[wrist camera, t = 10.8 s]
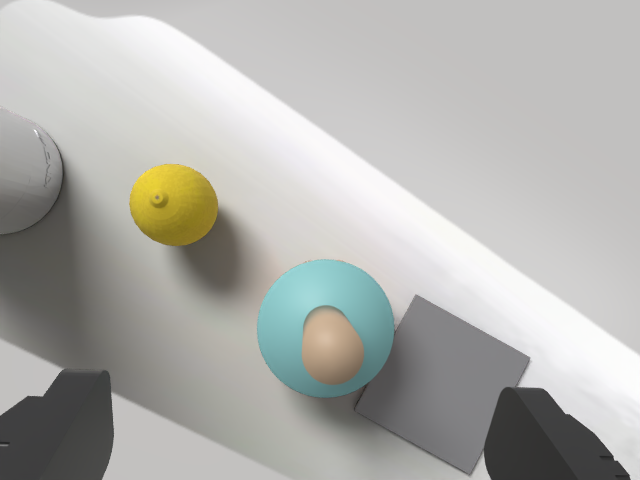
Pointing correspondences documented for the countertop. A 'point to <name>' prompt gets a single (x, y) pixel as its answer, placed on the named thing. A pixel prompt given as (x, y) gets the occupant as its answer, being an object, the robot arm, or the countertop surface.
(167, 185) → the lemon
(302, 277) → the lid
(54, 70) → the countertop surface
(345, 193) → the countertop surface
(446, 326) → the mat
